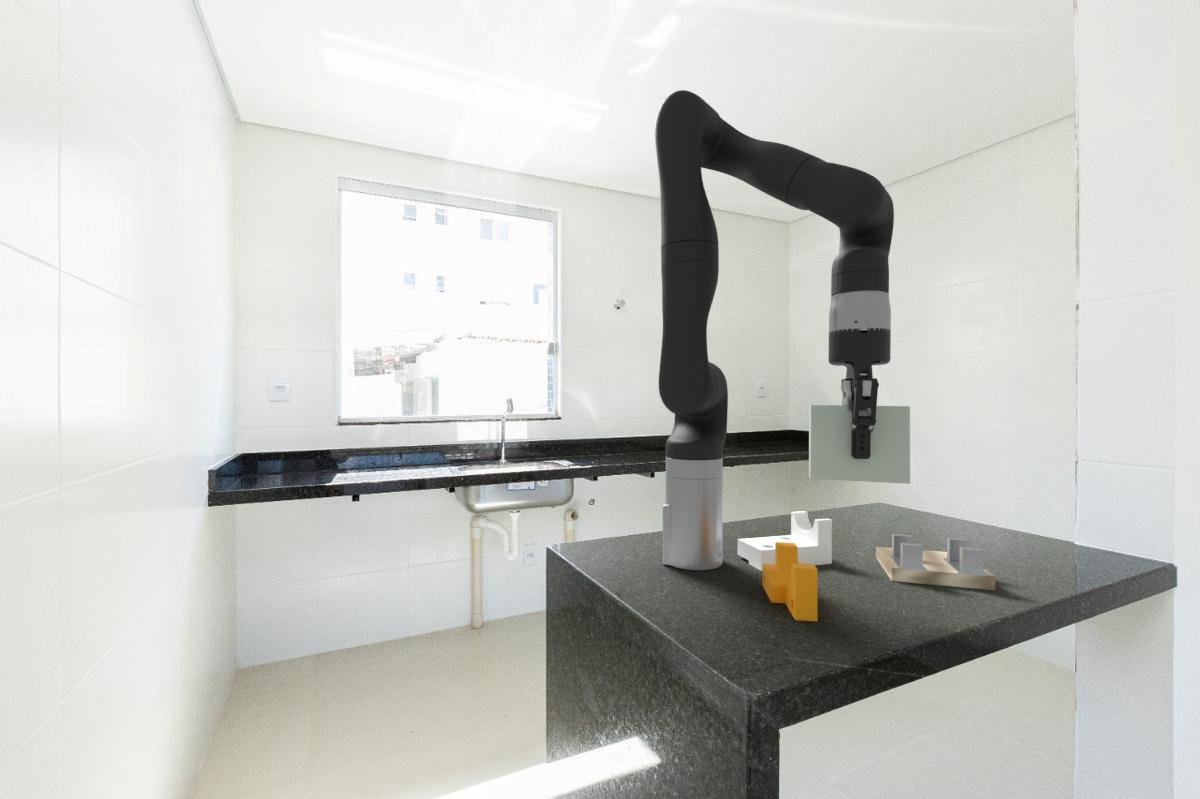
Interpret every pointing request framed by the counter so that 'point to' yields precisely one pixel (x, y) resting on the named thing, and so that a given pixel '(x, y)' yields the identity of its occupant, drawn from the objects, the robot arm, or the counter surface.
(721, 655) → the counter surface
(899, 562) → the grey slotted panel holder
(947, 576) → the wooden base board
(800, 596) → the orange stepped block
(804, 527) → the bracket
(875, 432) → the door
